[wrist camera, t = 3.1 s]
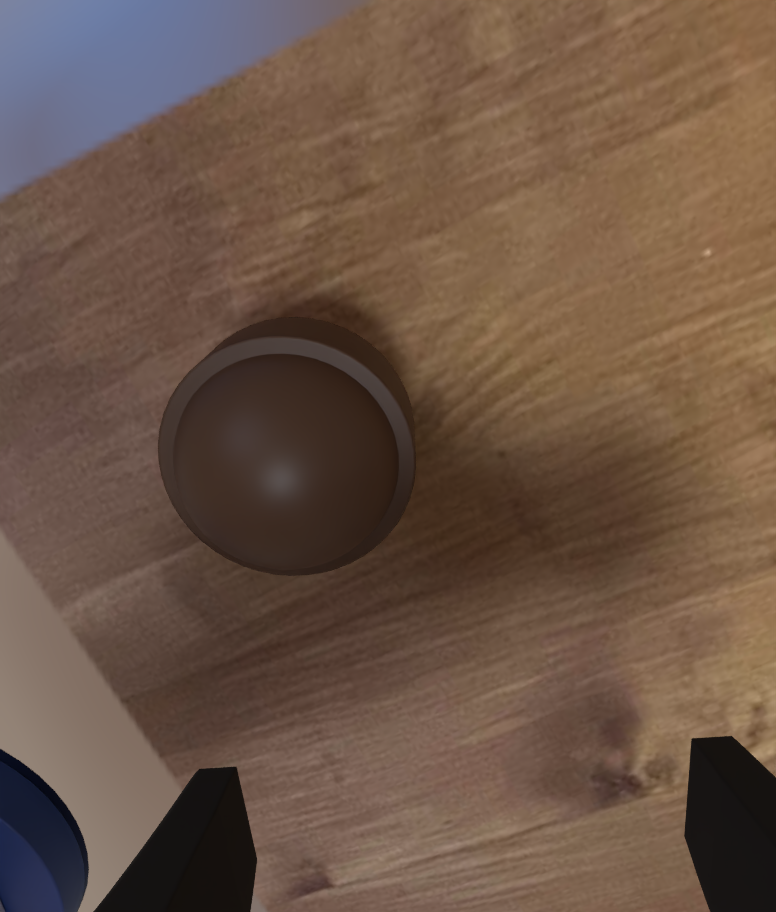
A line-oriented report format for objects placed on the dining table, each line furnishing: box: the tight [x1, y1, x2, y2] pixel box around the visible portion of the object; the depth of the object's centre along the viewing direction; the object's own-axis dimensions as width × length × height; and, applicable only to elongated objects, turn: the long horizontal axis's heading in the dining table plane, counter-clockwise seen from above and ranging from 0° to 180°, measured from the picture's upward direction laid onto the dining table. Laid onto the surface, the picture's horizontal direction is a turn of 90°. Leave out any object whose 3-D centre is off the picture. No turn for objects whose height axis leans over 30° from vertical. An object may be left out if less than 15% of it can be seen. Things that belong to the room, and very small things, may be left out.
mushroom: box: [158, 317, 416, 576], centre depth 16 cm, size 5×5×7 cm
